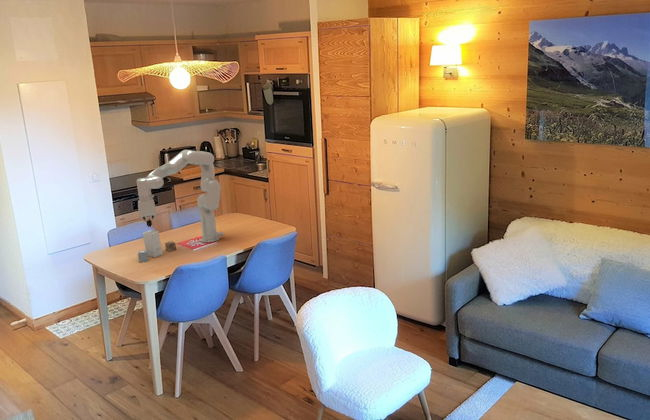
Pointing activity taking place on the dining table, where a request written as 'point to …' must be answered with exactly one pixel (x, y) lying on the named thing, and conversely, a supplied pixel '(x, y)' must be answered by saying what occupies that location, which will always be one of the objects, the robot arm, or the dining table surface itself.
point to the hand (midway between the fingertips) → (149, 226)
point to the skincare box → (152, 243)
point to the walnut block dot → (170, 246)
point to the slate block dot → (143, 256)
